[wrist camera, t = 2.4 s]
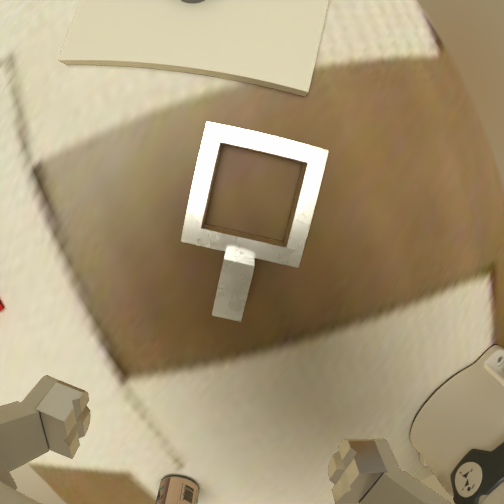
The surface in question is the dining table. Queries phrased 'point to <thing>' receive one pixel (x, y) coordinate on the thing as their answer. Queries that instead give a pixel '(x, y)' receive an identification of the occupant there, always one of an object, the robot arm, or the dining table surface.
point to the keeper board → (202, 38)
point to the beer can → (177, 491)
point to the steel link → (239, 243)
